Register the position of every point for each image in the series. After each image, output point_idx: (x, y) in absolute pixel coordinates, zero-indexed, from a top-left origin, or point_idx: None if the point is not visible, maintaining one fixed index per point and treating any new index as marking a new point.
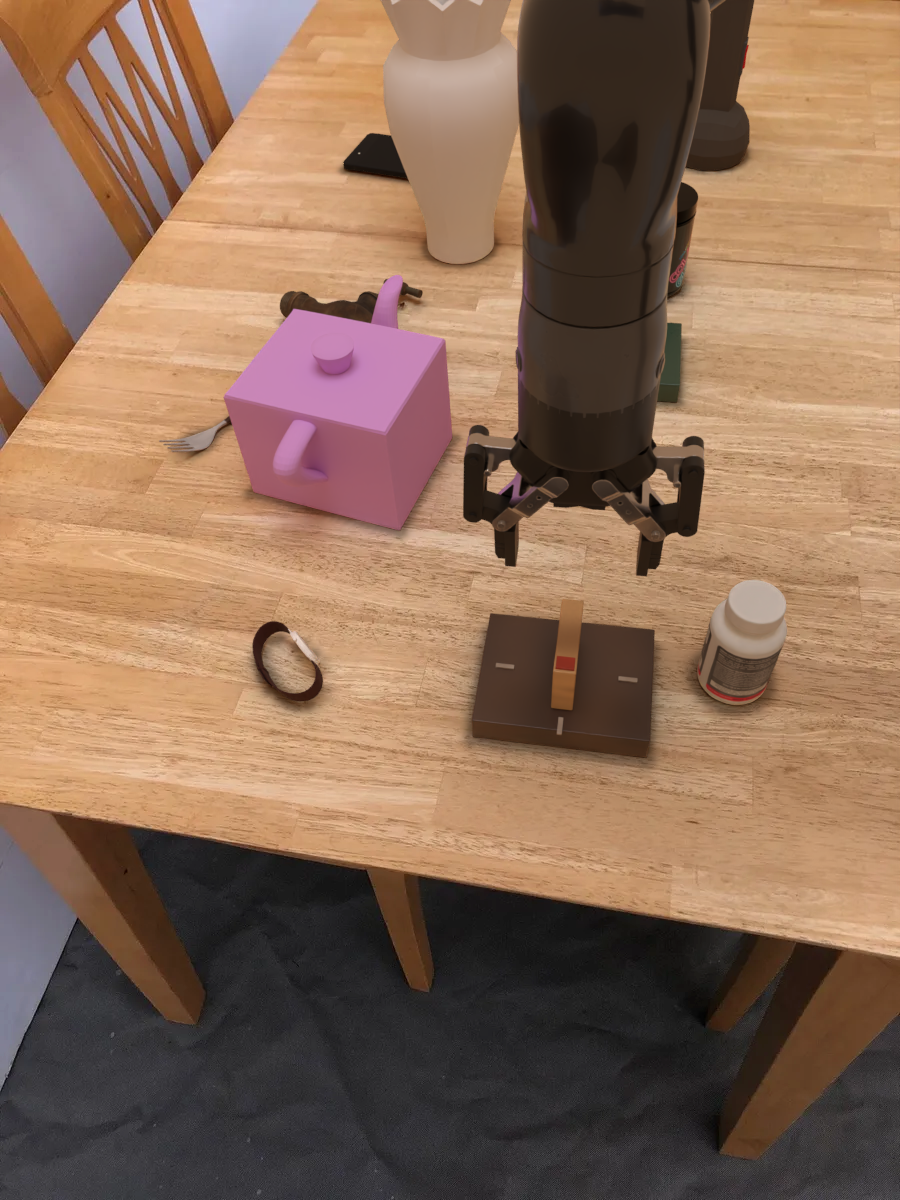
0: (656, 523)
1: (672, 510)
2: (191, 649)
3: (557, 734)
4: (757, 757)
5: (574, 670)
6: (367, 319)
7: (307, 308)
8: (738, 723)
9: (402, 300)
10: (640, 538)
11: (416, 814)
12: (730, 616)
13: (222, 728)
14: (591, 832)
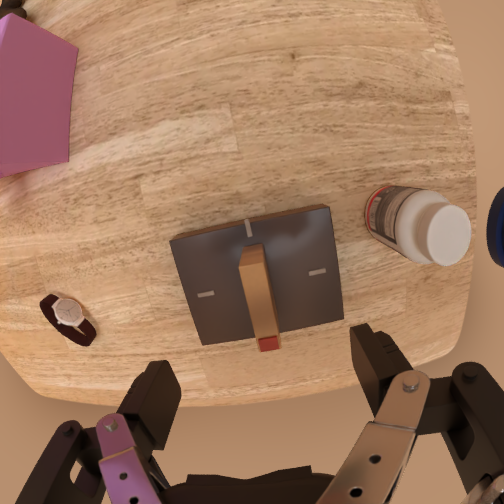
0: (411, 453)
1: (443, 417)
2: (27, 313)
3: None
4: (409, 277)
5: (279, 345)
6: (1, 15)
7: None
8: (397, 254)
9: None
10: (370, 389)
11: (198, 385)
12: (425, 254)
13: (71, 358)
14: (309, 365)
